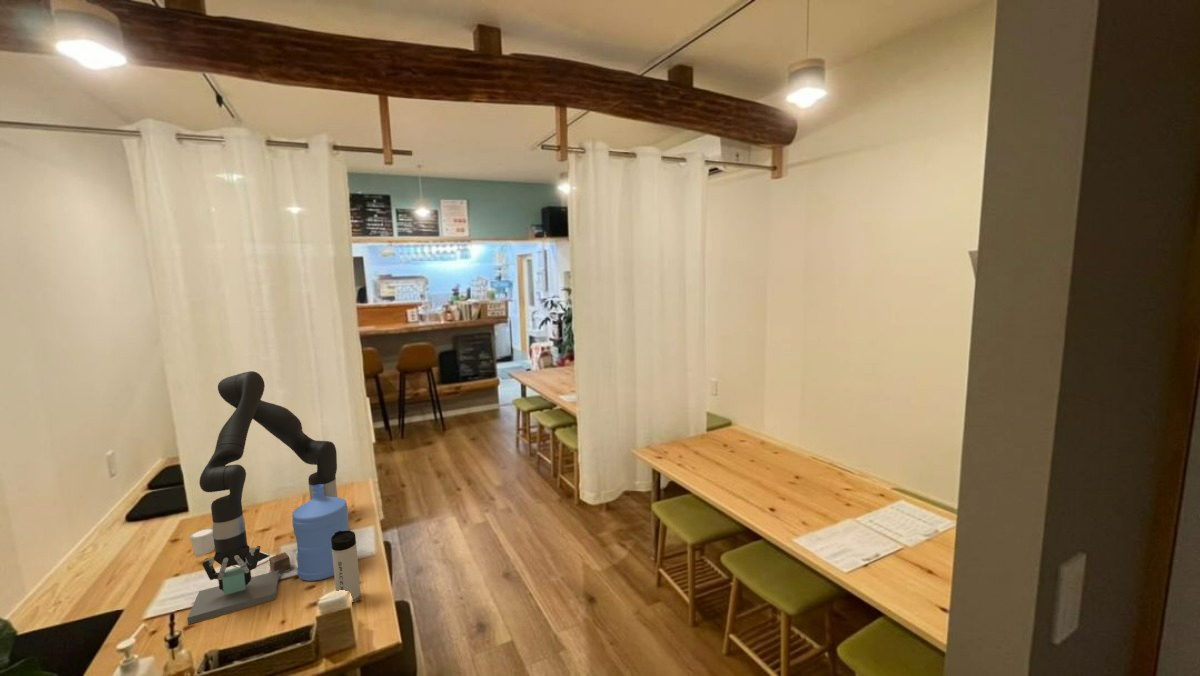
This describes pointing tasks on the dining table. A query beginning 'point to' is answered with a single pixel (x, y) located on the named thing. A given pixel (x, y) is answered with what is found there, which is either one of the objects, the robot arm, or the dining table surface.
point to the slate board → (234, 598)
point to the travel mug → (346, 563)
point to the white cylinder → (202, 541)
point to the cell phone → (261, 560)
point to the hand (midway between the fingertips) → (235, 586)
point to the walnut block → (280, 563)
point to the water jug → (318, 533)
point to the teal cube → (233, 580)
